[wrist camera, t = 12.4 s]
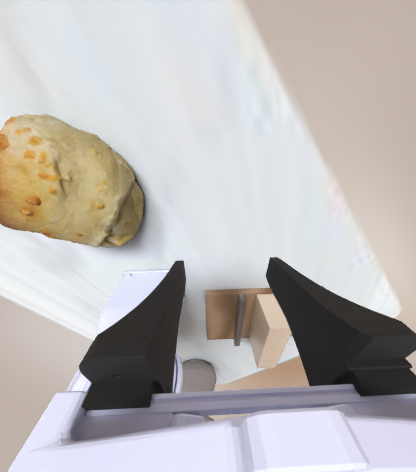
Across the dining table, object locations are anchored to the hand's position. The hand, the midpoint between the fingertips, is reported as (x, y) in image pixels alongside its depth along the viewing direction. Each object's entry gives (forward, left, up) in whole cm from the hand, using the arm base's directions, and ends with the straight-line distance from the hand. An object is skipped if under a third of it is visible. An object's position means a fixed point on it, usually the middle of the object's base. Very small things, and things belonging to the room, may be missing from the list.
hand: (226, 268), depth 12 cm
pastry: (-15, +5, -10) cm, 19 cm away
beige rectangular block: (+9, -20, -8) cm, 24 cm away
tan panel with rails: (+9, -21, -9) cm, 25 cm away
